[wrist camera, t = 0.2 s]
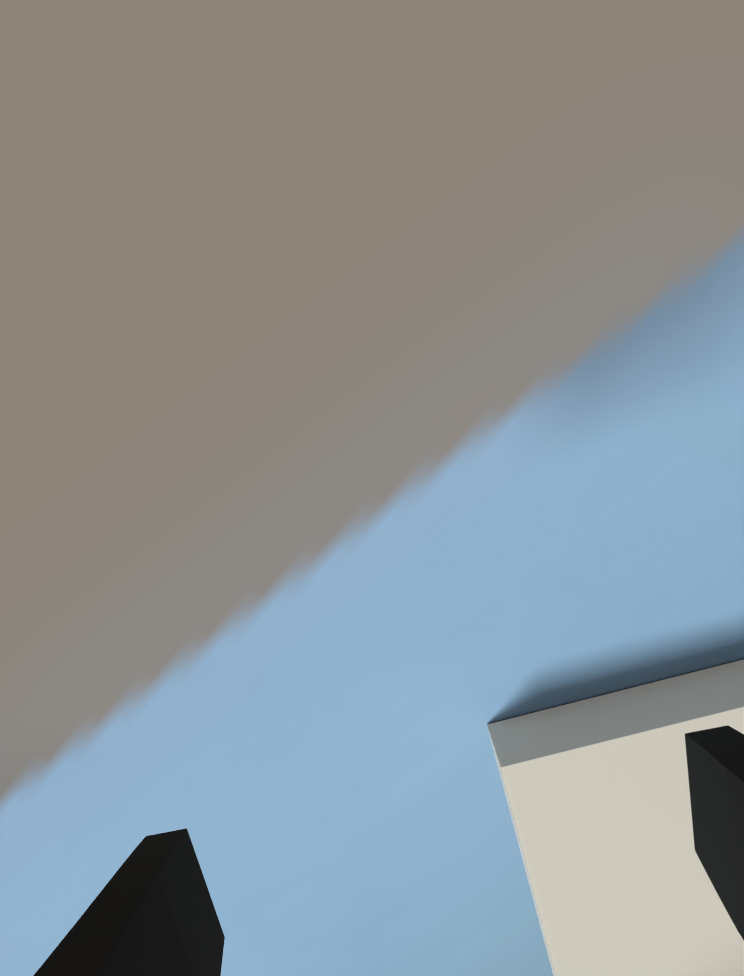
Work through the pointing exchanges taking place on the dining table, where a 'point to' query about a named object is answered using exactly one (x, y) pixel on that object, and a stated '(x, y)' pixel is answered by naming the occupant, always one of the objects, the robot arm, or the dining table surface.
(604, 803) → the white stand
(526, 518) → the dining table surface
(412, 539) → the dining table surface
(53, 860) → the dining table surface
